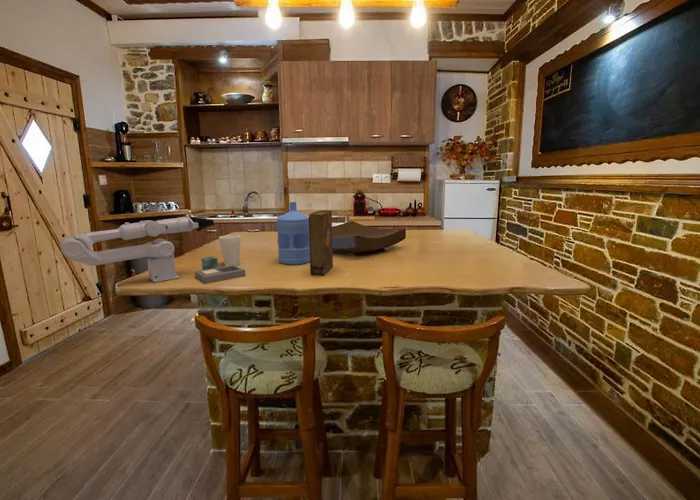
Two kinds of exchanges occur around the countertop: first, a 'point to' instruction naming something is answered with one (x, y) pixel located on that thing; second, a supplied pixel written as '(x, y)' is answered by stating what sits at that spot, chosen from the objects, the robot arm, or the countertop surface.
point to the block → (209, 262)
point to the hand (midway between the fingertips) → (210, 221)
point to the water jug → (293, 237)
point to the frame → (219, 273)
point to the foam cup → (230, 249)
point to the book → (320, 242)
